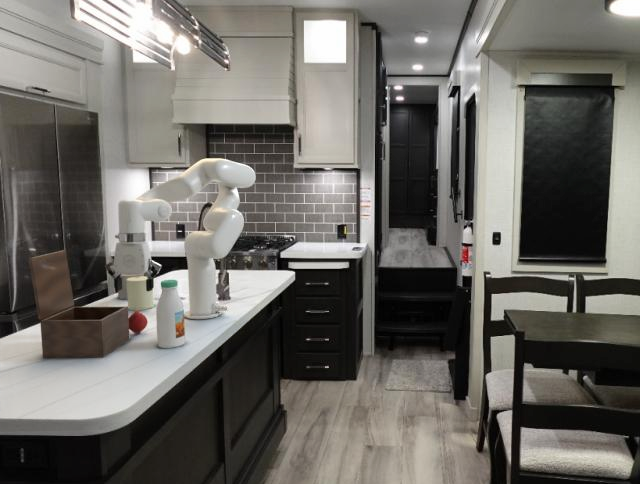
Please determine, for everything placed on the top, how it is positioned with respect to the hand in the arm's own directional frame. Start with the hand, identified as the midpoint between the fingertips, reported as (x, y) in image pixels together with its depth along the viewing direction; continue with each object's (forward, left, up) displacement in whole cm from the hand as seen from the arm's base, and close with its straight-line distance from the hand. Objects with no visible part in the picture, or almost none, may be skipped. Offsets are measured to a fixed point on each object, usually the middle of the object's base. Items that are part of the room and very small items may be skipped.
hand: (134, 290), depth 160 cm
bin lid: (+16, +14, +5) cm, 22 cm away
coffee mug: (+24, -52, -15) cm, 59 cm away
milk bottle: (-15, +11, -15) cm, 24 cm away
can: (+14, -34, -15) cm, 40 cm away
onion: (0, 0, -15) cm, 15 cm away
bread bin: (+8, +14, -15) cm, 21 cm away
